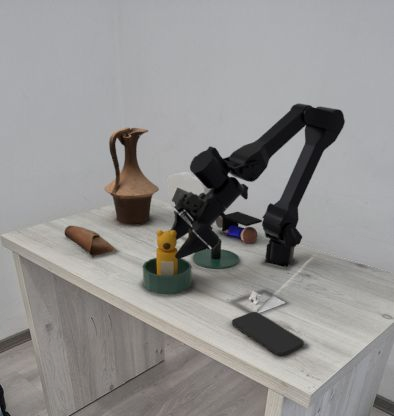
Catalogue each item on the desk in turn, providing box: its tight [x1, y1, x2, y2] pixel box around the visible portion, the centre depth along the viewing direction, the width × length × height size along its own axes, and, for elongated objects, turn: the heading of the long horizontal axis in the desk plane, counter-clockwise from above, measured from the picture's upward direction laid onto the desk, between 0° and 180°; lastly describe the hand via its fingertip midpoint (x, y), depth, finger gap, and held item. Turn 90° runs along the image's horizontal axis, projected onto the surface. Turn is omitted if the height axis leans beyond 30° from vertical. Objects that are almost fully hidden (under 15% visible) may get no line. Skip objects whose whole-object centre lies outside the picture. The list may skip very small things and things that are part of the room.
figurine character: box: [215, 211, 263, 245], centre depth 138 cm, size 7×8×15 cm
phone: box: [231, 311, 305, 356], centre depth 95 cm, size 7×1×15 cm
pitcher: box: [104, 126, 160, 226], centre depth 143 cm, size 18×17×28 cm
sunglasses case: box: [64, 225, 117, 258], centre depth 132 cm, size 18×7×7 cm
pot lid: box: [192, 238, 240, 270], centre depth 124 cm, size 13×13×6 cm
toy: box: [155, 229, 179, 276], centre depth 109 cm, size 5×5×13 cm
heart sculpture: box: [166, 171, 210, 237], centre depth 135 cm, size 16×5×18 cm, turn 45°
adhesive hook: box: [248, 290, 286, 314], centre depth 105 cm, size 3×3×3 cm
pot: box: [142, 257, 193, 295], centre depth 112 cm, size 12×12×5 cm
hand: (171, 250), depth 108 cm, fingers open, 9 cm apart
